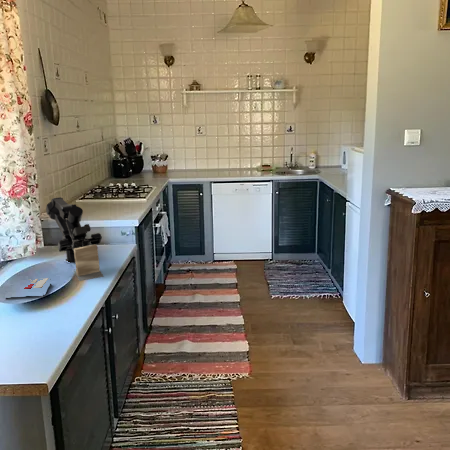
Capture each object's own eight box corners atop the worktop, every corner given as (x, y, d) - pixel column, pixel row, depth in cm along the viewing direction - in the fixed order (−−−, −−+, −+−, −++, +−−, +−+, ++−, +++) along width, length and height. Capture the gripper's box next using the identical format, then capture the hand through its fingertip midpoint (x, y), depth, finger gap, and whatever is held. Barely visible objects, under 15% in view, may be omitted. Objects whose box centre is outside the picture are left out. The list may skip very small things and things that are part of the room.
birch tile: (76, 274, 206) (73, 248, 203) (98, 269, 211) (95, 244, 208) (78, 276, 204) (75, 250, 201) (100, 271, 209) (97, 245, 206)
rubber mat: (73, 270, 213) (73, 269, 213) (97, 266, 217) (97, 265, 217) (79, 281, 199) (79, 281, 198) (104, 277, 203) (103, 276, 203)
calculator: (13, 280, 194) (50, 276, 195) (15, 290, 195) (52, 286, 196) (3, 290, 183) (42, 286, 184) (5, 301, 185) (44, 296, 185)
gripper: (55, 222, 202) (66, 253, 196) (98, 215, 212) (109, 244, 206) (53, 236, 210) (63, 266, 204) (94, 229, 220) (105, 257, 214)
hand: (85, 258), depth 207 cm, fingers closed, pressing on birch tile
